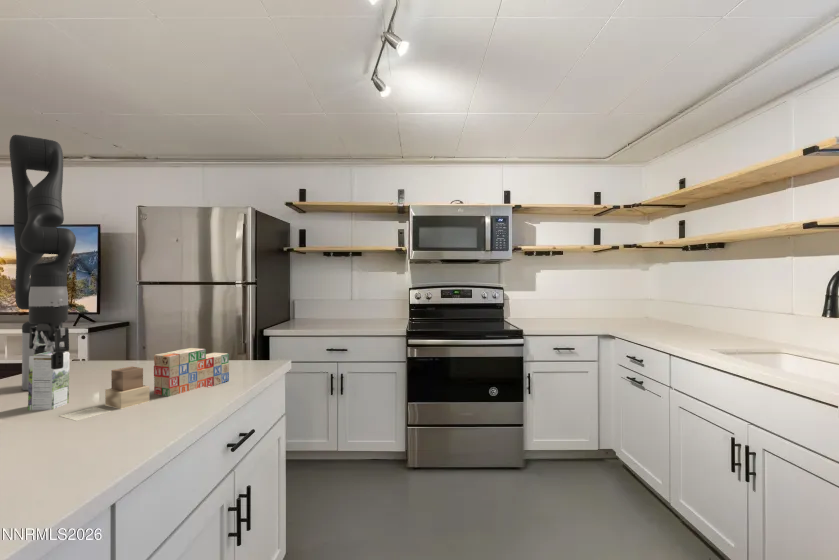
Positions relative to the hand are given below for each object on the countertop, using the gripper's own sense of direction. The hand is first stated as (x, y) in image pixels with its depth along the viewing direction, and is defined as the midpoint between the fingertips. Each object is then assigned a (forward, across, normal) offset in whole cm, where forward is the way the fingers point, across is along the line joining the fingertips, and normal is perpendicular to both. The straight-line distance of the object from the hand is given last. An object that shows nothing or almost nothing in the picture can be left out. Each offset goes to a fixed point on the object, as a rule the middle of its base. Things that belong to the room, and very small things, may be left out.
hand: (48, 367), depth 105 cm
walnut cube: (+6, +15, +11) cm, 19 cm away
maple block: (+10, +15, +11) cm, 21 cm away
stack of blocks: (+11, +14, +30) cm, 35 cm away
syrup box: (+11, 0, 0) cm, 11 cm away
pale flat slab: (+11, +12, +6) cm, 17 cm away
